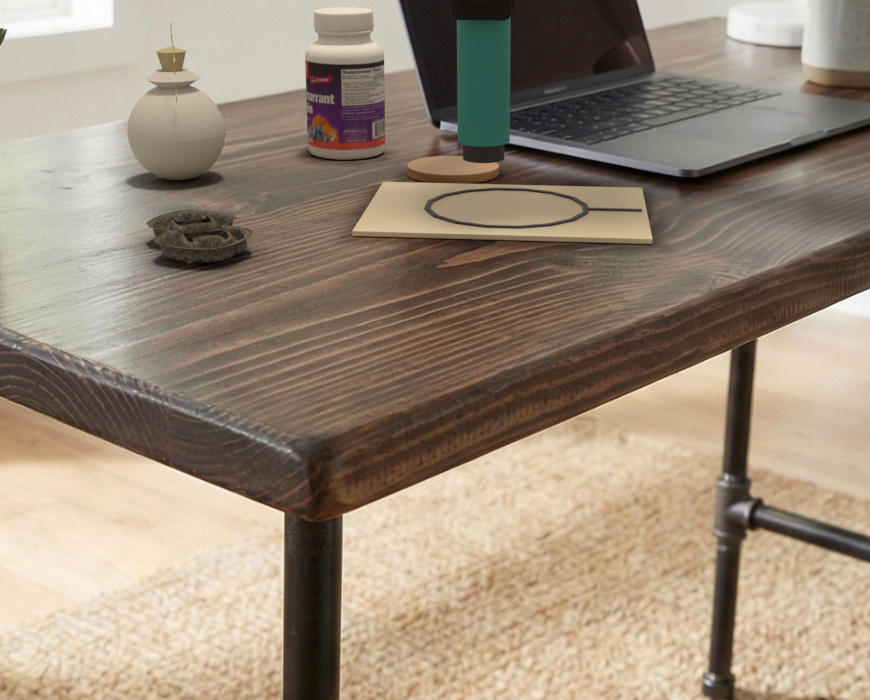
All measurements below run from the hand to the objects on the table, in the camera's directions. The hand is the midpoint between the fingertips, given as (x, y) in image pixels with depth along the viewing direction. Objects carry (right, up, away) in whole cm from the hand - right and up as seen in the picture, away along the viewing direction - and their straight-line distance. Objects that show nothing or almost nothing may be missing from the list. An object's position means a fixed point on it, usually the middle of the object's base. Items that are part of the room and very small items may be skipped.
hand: (484, 12), depth 72 cm
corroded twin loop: (-15, -14, -5) cm, 21 cm away
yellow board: (+1, -11, +3) cm, 11 cm away
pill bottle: (-9, -5, +19) cm, 21 cm away
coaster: (-2, -7, +12) cm, 14 cm away
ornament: (-19, -8, +10) cm, 23 cm away
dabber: (0, -8, +3) cm, 8 cm away
